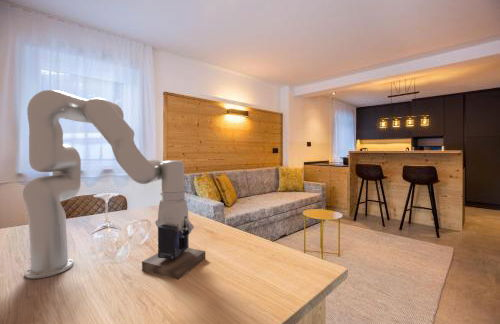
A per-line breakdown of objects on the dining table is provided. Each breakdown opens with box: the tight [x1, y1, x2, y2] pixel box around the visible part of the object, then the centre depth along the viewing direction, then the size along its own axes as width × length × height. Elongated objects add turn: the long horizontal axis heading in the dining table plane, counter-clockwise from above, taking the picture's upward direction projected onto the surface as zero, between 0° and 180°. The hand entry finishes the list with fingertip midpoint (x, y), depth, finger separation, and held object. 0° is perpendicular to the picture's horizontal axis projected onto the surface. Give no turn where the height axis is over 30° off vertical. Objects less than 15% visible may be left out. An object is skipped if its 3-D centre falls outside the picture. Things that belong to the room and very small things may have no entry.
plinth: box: [141, 247, 206, 280], centre depth 83 cm, size 15×15×3 cm
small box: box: [157, 225, 190, 259], centre depth 83 cm, size 11×6×10 cm, turn 168°
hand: (174, 246), depth 83 cm, fingers closed on small box, 7 cm apart
